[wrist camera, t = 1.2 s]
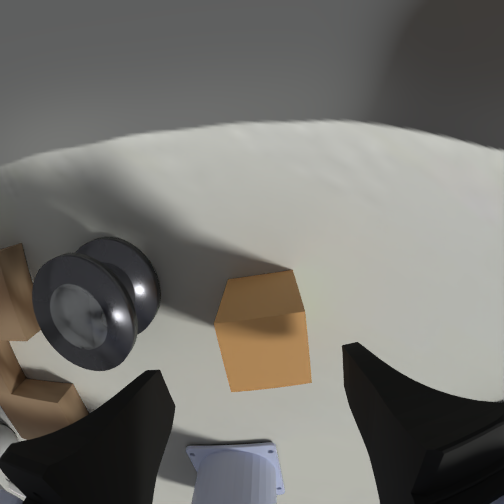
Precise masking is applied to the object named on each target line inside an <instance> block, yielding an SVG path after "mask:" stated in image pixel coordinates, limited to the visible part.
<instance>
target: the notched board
mask: <svg viewBox="0 0 504 504" xmlns="http://www.w3.org/2000/svg"><path fill="white" fill-rule="evenodd" d="M32 289H33V283H32V280H31V277H30V273H29V270H28V266H27V262H26V259H25V255H24V251H23V247H22V243H20V244H17V245H13V246H10V247H7V248H3V249H0V405H1V407H2V409H3V410H4V412H5V414H6V415H7V417H8V418H9V420H10V421H11V423H12V424H13V426H14V427H15V429H16V430H17V432H18V433H19V434H20V436H21V437H22V438H24V439H27V440H30V439H34V438H37V437H41V436H44V435H47V434H50V433H52V432H55V431H57V430H60V429H62V428H64V427H66V426H68V425H70V424H72V423H74V422H76V421H78V420H80V419H82V418H83V417H85V416H87V415H88V414H89V412H88V411H87V409H86V407H85V405H84V403H83V402H82V400H81V398H80V396H79V394H78V392H77V390H76V389H75V387H74V385H73V384H69V383H59V382H50V381H41V380H34V379H26V377H25V375H24V373H23V371H22V369H21V367H20V365H19V363H18V361H17V359H16V357H15V355H14V352H13V350H12V348H11V346H10V343H9V341H28V340H29V339H30V338H31V337H32V336H34V335H35V334H36V333H37V332H39V331H40V330H41V329H40V327H39V324H38V322H37V320H36V317H35V313H34V309H33V303H32Z"/></svg>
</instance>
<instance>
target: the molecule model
mask: <svg viewBox="0 0 504 504" xmlns="http://www.w3.org/2000/svg"><path fill="white" fill-rule="evenodd" d="M16 442H19V441H18V439H17V437H16V435H15V433H14V432H13V431H12V430H11V429H10V428H8V427H7V426H5V425H2V424H0V457H1V456H2V455H3V453H4V452H5V451H6V449H7V448H8V447H9V445H10V444H11V443H16Z"/></svg>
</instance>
